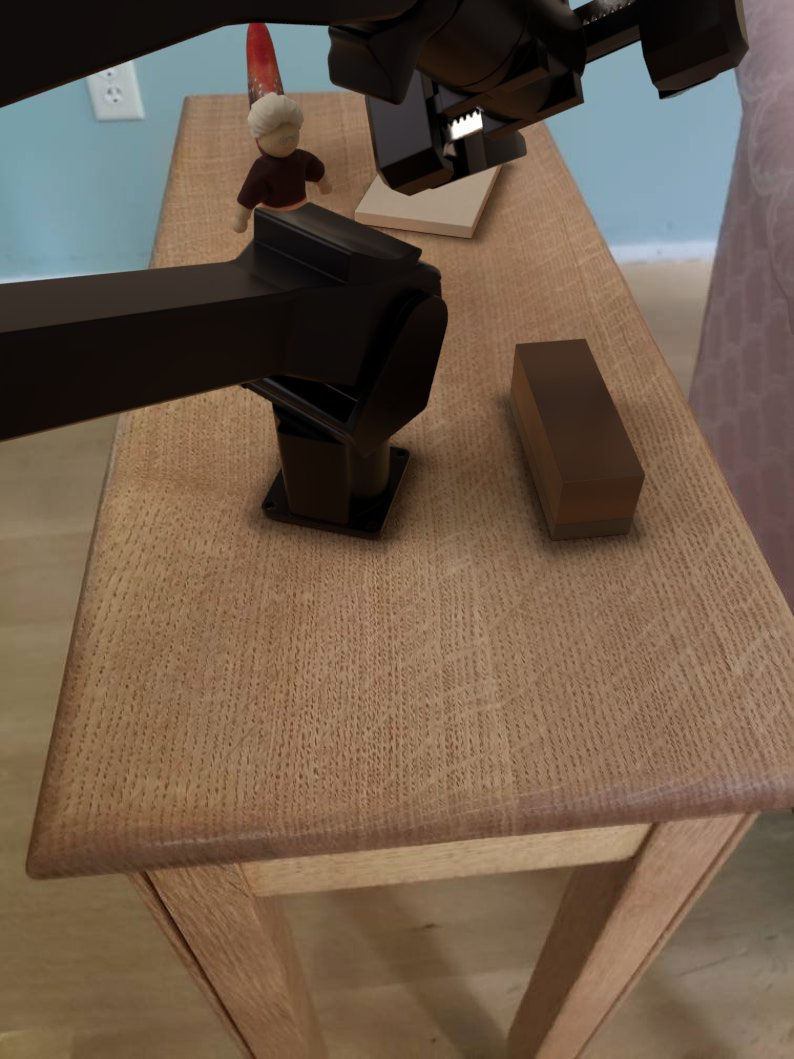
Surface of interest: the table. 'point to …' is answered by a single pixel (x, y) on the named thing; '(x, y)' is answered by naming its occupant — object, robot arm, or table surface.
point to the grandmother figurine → (278, 162)
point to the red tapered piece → (261, 66)
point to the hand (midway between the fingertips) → (596, 118)
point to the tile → (429, 206)
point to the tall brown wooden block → (574, 440)
